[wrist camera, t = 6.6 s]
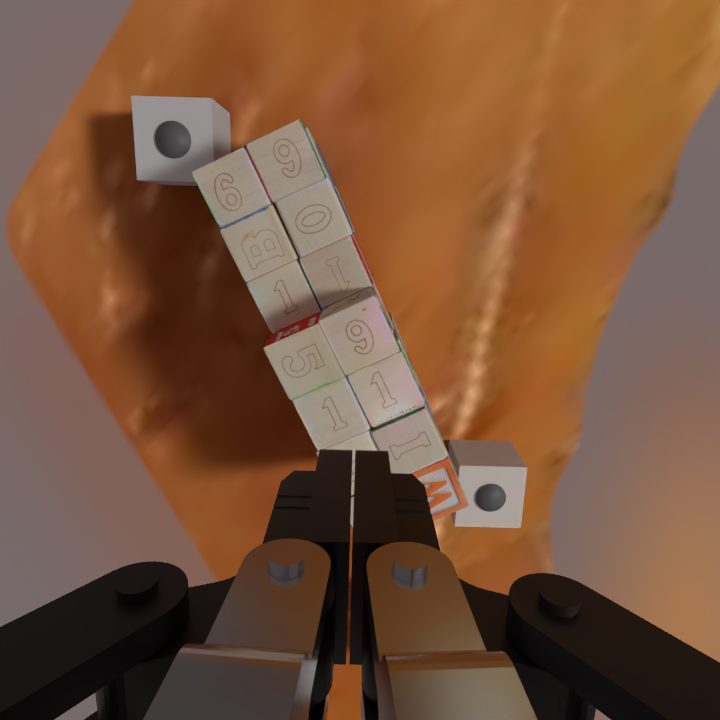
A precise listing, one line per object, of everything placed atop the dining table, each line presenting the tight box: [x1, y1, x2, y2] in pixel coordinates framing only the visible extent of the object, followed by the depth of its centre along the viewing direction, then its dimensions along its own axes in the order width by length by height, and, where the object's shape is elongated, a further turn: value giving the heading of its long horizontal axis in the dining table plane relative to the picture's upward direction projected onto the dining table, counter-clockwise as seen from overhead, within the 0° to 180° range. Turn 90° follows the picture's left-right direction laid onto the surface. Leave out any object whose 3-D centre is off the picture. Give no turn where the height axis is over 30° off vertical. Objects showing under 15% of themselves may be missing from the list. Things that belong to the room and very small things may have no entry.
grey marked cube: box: [131, 96, 231, 186], centre depth 33 cm, size 4×4×5 cm
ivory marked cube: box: [448, 440, 527, 528], centre depth 39 cm, size 4×4×5 cm
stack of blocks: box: [192, 119, 470, 529], centre depth 32 cm, size 21×6×12 cm, turn 24°
